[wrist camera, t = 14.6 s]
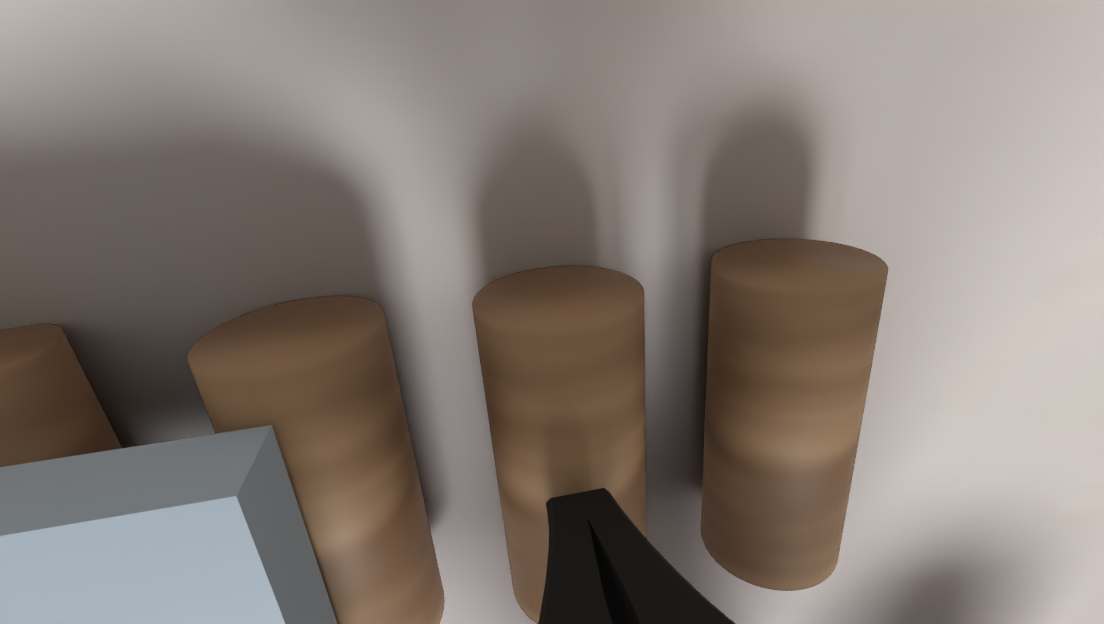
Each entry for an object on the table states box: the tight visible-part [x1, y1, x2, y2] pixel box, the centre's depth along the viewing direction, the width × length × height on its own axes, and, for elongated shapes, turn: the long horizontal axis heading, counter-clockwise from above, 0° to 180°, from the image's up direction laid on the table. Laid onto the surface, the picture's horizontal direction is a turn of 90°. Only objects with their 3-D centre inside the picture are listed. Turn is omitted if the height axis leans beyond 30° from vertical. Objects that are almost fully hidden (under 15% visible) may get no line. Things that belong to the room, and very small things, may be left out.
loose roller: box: [0, 324, 122, 467], centre depth 14 cm, size 9×4×4 cm, turn 6°
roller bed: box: [187, 239, 888, 624], centre depth 14 cm, size 9×28×4 cm, turn 94°
